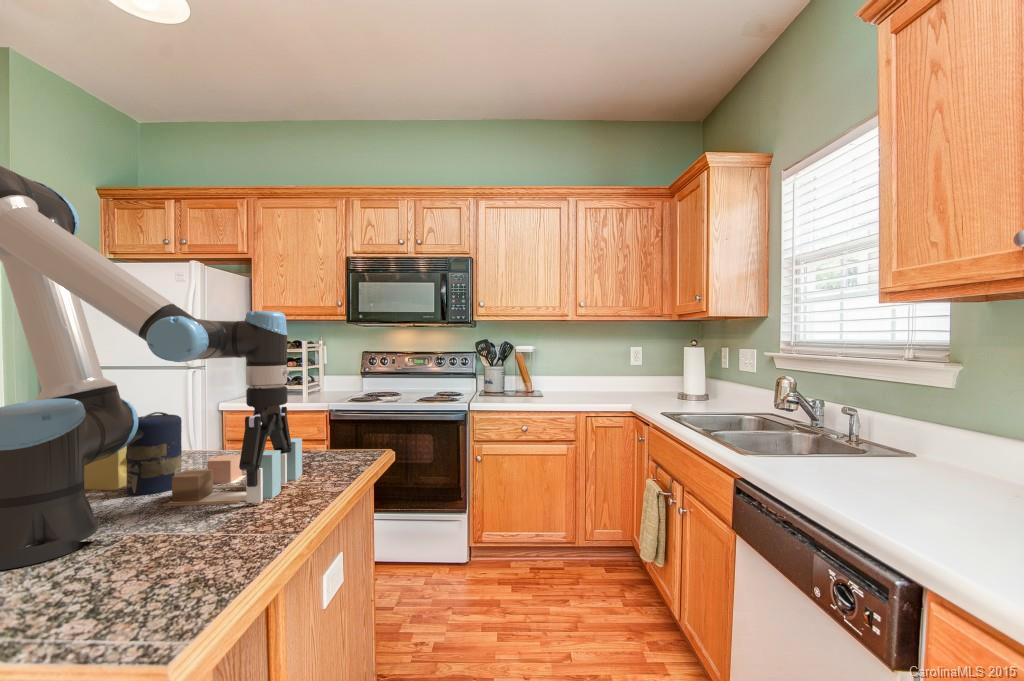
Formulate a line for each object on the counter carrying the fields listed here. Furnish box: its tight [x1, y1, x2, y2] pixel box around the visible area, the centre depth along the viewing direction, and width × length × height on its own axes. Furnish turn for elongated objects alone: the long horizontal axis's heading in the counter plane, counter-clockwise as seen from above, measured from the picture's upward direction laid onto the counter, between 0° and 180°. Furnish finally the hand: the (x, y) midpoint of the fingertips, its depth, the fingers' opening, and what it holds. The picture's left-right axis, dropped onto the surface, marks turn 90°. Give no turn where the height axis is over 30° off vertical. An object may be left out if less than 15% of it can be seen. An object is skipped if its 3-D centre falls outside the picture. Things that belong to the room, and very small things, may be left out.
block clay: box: [206, 454, 243, 484], centre depth 106 cm, size 5×5×5 cm
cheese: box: [84, 445, 127, 491], centre depth 108 cm, size 10×11×10 cm
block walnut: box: [171, 468, 214, 502], centre depth 94 cm, size 5×5×5 cm
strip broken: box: [213, 437, 303, 485], centre depth 106 cm, size 6×20×10 cm, turn 94°
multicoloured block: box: [168, 449, 282, 503], centre depth 94 cm, size 6×20×10 cm, turn 94°
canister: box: [126, 411, 183, 497], centre depth 100 cm, size 10×10×18 cm
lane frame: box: [162, 472, 246, 507], centre depth 100 cm, size 21×14×2 cm, turn 4°
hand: (267, 492), depth 95 cm, fingers open, 11 cm apart
